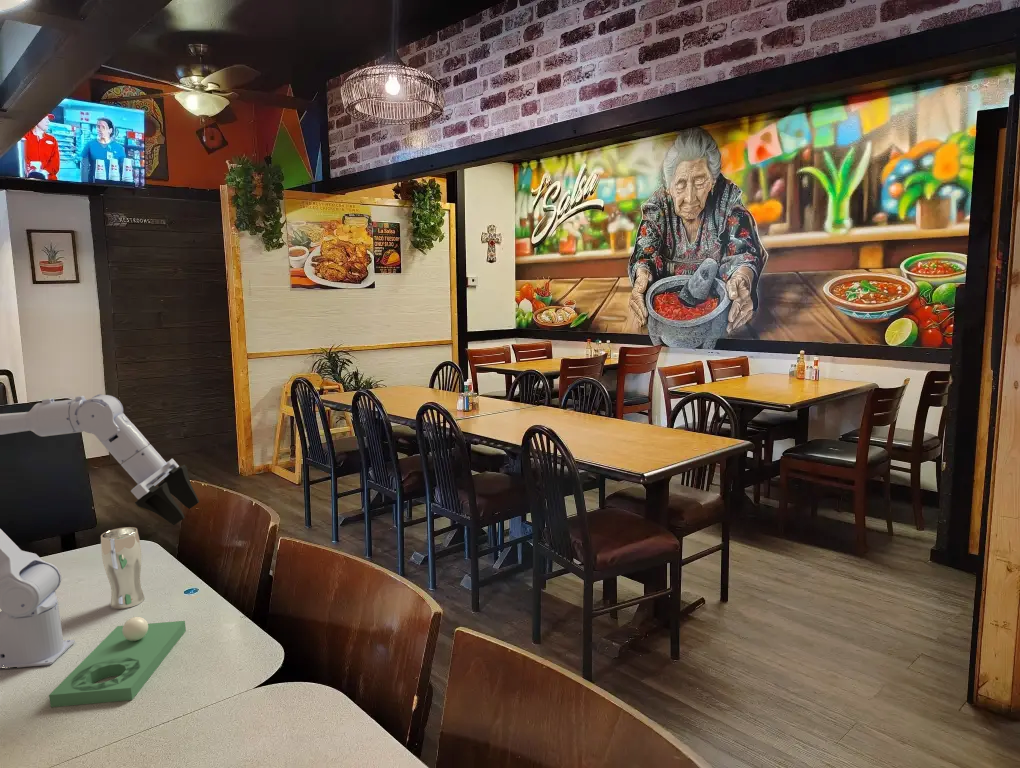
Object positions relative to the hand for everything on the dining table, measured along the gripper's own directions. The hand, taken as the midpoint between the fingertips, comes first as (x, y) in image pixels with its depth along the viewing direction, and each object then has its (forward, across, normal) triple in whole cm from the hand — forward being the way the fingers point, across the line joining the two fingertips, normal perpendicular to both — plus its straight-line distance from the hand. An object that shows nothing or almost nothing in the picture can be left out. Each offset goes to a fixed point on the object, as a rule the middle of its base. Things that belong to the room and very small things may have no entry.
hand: (187, 513), depth 123 cm
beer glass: (+10, +16, +30) cm, 35 cm away
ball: (+11, -5, +18) cm, 22 cm away
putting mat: (+14, -10, +20) cm, 26 cm away
